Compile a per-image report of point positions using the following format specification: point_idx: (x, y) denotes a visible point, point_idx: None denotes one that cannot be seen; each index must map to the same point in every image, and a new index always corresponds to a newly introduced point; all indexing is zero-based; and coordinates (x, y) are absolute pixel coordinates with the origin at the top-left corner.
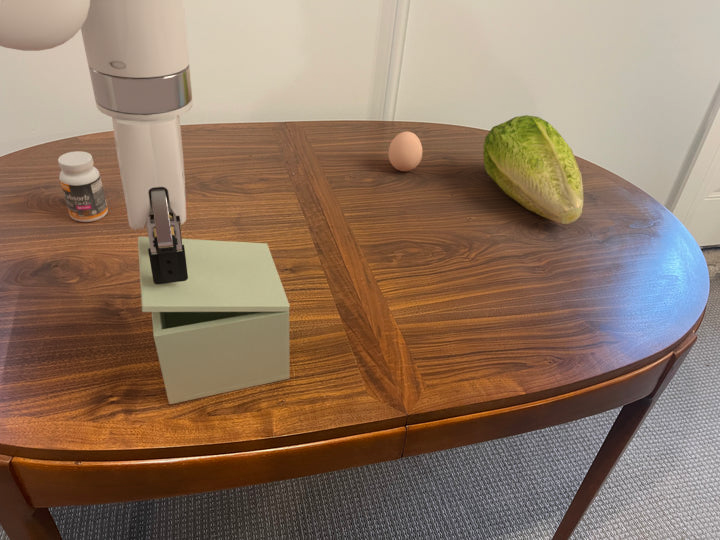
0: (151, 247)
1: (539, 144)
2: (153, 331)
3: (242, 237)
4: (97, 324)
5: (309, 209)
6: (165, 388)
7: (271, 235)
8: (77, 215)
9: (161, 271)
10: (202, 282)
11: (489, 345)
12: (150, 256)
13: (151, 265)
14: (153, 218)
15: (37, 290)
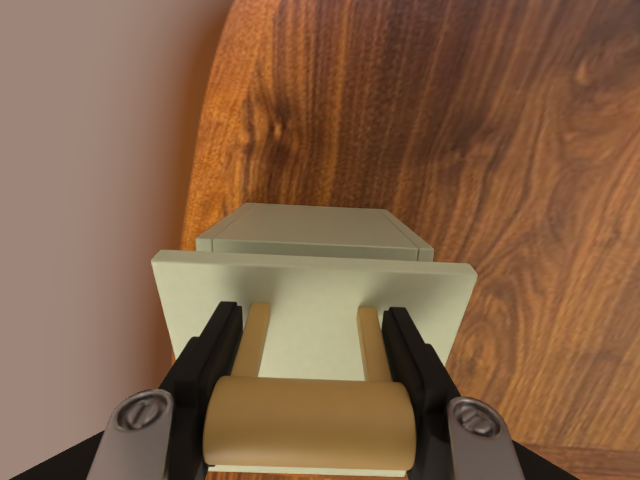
0: (108, 431)
1: None
2: (208, 239)
3: (562, 355)
4: (444, 112)
5: (583, 457)
6: (237, 208)
7: (545, 394)
8: None
9: (181, 355)
10: (262, 376)
11: None
12: (182, 367)
13: (197, 340)
14: (419, 407)
15: (584, 3)
